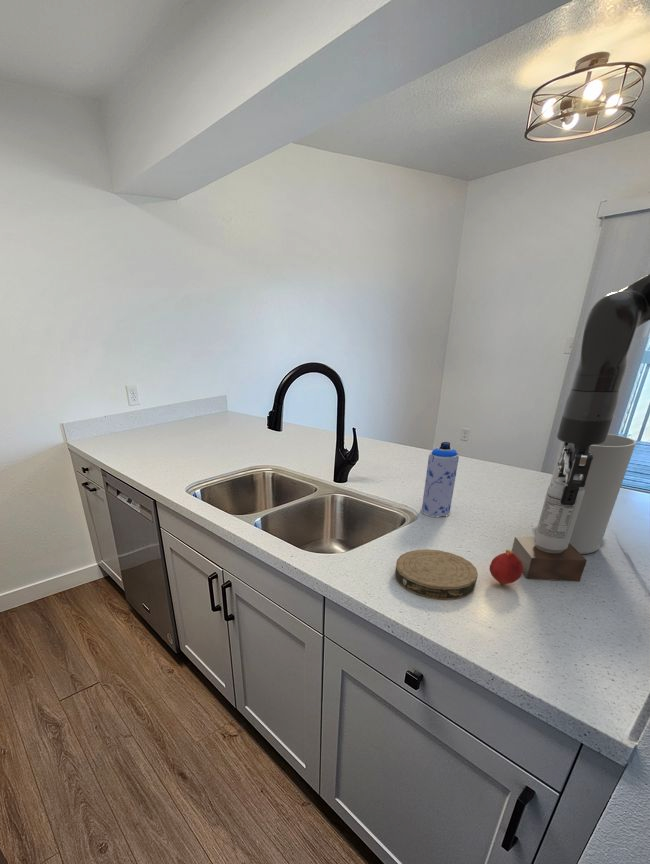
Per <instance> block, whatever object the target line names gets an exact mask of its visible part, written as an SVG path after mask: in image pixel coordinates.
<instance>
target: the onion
mask: <svg viewBox="0 0 650 864" xmlns="http://www.w3.org/2000/svg"><path fill="white" fill-rule="evenodd" d="M489 572H490V574H491V576H492V578H494V579H495V580H496V581H497V583H499V584H500V585H503V586H504V585H510V584H512V583H514V582H518V580H519V579H521V577H522V575H523V564H522V562H521V560H520V559H519V557H518V556H516V555H515V554H514V553H513V552H512V549H506V550H505V552H502V553H500V554H498V555H495V557H493V558H492V560H491V562H490V564H489Z"/></svg>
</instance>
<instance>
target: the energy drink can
mask: <svg viewBox="0 0 650 864" xmlns="http://www.w3.org/2000/svg"><path fill="white" fill-rule="evenodd" d="M565 480H566V477H557V478H554V481H553V482H552V483H551V482H550V483H551V484H550V483H549V485H548V486H547V489H546V493H545V497H544V501H543V505H542V508H541V512H540V515H539V520H538V523H537V527H536V531H535V535H534V537H535V538H534V543H535V544H536V547H537V548H538V549H539V550H541V551H544V552H548V553H561V552H563V550H565V549H567V548H568V545H569V541H570V538H571V535H572V532H573V528H574V525H575V522H576V519H577V515H578V512H579V509H580V506H581V502H582V499H583V496H584V493H585V490H584V487H581V488H579V491H578V494H577V498H576V501H575V504H574V505H573V506H569V505H562V504H561V502H560V501H561V497H562V494H563V490H564V487H565ZM573 480H578V479H576V478H573Z"/></svg>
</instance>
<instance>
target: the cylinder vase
mask: <svg viewBox="0 0 650 864" xmlns="http://www.w3.org/2000/svg"><path fill="white" fill-rule="evenodd" d="M636 444H637V441H636V440H635V439H633V438H630V437H627V436H624V435H619V434H613V433H608V435H607V438H606V440H605V441H604V442H603V443H600V444H593V445H590V447H589V452H588V453H591V455H593V460H592V461H591V465H590V468H589V472H588V475H587V479H586V482H585V486H584V490H585V493H584V496H583V499H582V502H581V506H580V509H579V512H578V515H577V519H576V522H575V525H574V528H573V532H572V535H571V538H570V541H569V543H570V544H571V545H572V546H573V547H574V548H575V549H576V550H577V551H578V552H579V553H580V554H581V555H588V554H592V553H595V552H597V551H598V550H599V549H600V548H601V544H602V542H603V539H604V536H605V533H606V530H607V528H608V524H609V521H610V519H611V516H612V513H613V511H614V507H615V504H616V501H617V499H618V496H619V493H620V490H621V488H622V484H623V481H624V479H625V476H626V474H627V470H628V467H629V464H630V461H631V458H632V457H633V456H632V455H633V453H634V450H635V447H636ZM563 445H564V442H563V441H561V443H560V446H559V449H558V453H557V457H556V461H555V464H554V469H553V471H552V476H551V479H550V483H549V485H550V484H551V483H552V482H553V481H554V478H557V477H558V474H559V471H558V468H559V466H558V462H559V459H560V456H561V452H562V449H563ZM560 473H561V472H560ZM574 478H576V479H578V476H574Z"/></svg>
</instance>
